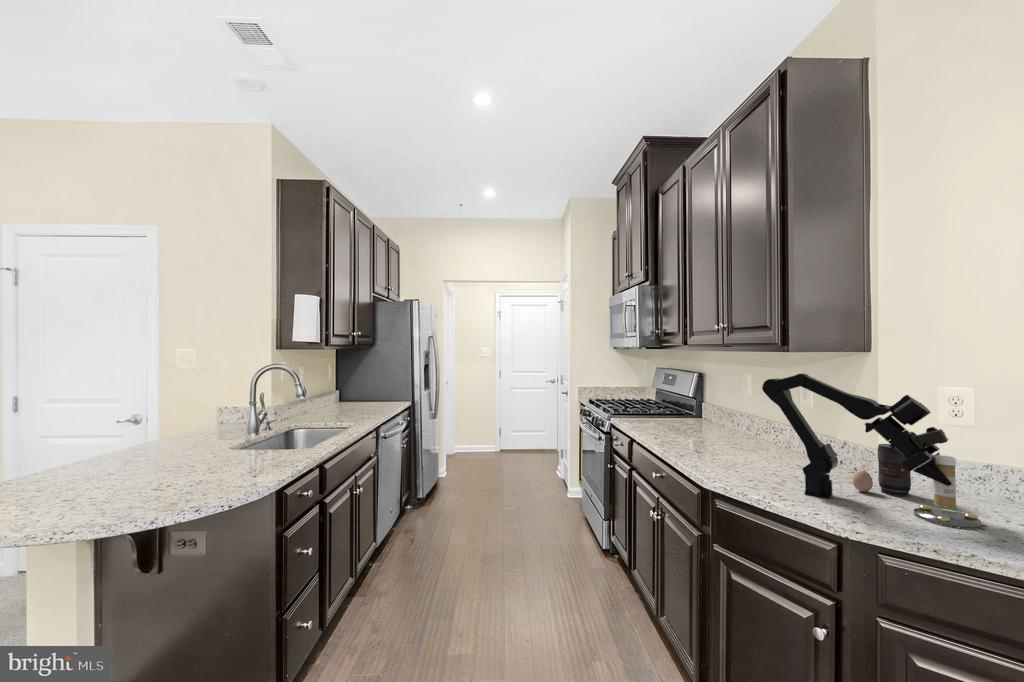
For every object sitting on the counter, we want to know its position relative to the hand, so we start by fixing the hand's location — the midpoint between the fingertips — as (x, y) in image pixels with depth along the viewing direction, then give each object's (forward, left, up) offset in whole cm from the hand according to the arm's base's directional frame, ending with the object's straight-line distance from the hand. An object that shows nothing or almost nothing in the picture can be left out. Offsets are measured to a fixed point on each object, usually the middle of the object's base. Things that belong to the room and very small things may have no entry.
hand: (951, 483), depth 120 cm
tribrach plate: (-1, 0, -10) cm, 10 cm away
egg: (-19, +17, -10) cm, 28 cm away
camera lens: (-11, +21, -10) cm, 26 cm away
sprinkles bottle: (-1, 0, -7) cm, 7 cm away
